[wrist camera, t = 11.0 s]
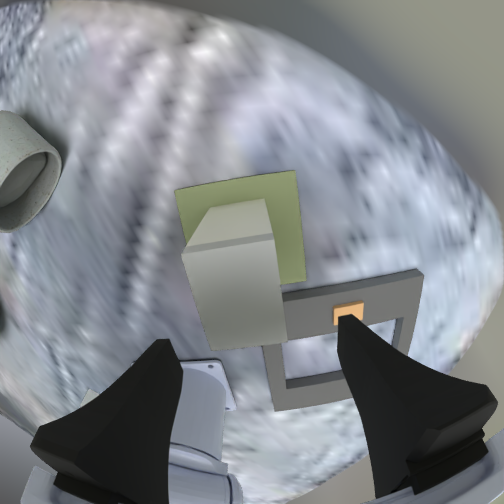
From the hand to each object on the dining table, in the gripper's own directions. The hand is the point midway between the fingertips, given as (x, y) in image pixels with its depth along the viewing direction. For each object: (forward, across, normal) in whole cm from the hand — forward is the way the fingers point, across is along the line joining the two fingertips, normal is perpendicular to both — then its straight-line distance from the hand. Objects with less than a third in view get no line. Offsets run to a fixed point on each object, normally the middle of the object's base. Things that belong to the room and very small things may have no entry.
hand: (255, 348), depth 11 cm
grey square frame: (+9, -6, +10) cm, 15 cm away
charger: (+9, 0, -2) cm, 9 cm away
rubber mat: (+9, 0, -2) cm, 10 cm away
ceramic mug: (+10, +18, -11) cm, 23 cm away
